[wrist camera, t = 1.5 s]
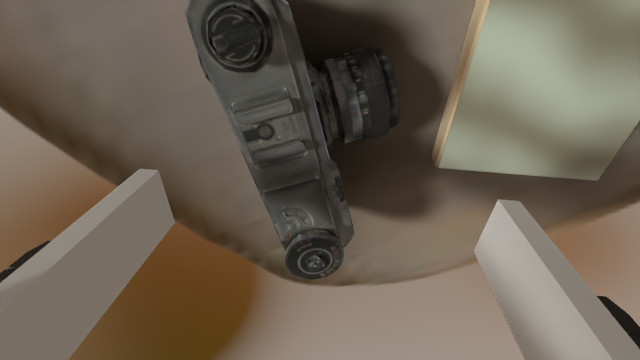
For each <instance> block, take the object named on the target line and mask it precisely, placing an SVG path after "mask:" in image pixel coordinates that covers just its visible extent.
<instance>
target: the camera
mask: <svg viewBox="0 0 640 360" xmlns="http://www.w3.org/2000/svg"><path fill="white" fill-rule="evenodd" d="M185 14H186V17H187V21H188V24H189V27H190V31H191V34H192V37H193V40H194V44H195V47H196V49H197V51H198V56H199V60H200V65H201V67H202V69H203V72H204V74H205V76H206V78H207V79H208V80H209V81H210V83H211V84H212V85H213V88H214V90H215V92H216V94H217V97H218V99H219V101H220V103H221V106H222V108H223V110H224V113H225V115H226V117H227V120H228V122H229V124H230V126H231V129H232V131H233V133H234V136H235V138H236V140H237V142H238V145H239V147H240V149H241V152H242V154H243V156H244V158H245V161H246V163H247V165H248V168H249V170H250V172H251V175H252V177H253V179H254V181H255V184H256V186H257V188H258V191H259V193H260V195H261V197H262V200H263V202H264V204H265V206H266V209H267V211H268V213H269V215H270V218H271V220H272V222H273V224H274V228H275V230H276V232H277V234H278V236H279V238H280V241H281V243H282V245H283V247H284V250H285V252H286V256H285V263H286V266H287V269H288V270H289V271H290V272H291V273H292V274H293V275H295V276H297V277H299V278H301V279H310V280H313V279H319V278H324V277H327V276H329V275H331V274H332V273H333V272H335V271H336V270H337V269H338V268H339V267H340V265H341V264H342V262H343V255H344V250H343V247H346V246H347V244H348V243H349V241H350V240H351V239H352V237H353V236H354V230H353V224H352V220H351V216H350V212H349V207H348V204H347V200H346V196H345V192H344V187H343V183H342V179H341V176H340V173H339V170H338V168H337V165H336V163H335V161H334V160H332V159H330V158H329V154H328V151H331V150H332V147H333V140H334V139H335V138H336V137H338V138H339V139H340V140H341V141H342V142H343V143H344V144H346V143H350V142H352V141H355V140H358V139H360V140H364V139H367V138H369V139H371V138H374V137H377V136H381V135H385V134H387V133H388V131H389V128H392V127H395V126H396V125H397V124H398V120H399V96H398V88H397V84H396V80H395V76H394V72H393V69H392V66H391V63H390V61H389V59H388V57H387V55H386V53H385V52H384V51H383V50H381V49H380V48H379V49H375V50H372V49H371V48H370V47H369V46H365V47H361V48H358V49H354V50H351V51H349V52H347V53H344V54H342V55H340V56H339V58H334V59H332V58H330V59H327V60H324V61H323V62H322V71H318V70H316V69H315V68H314V67H313V66H312V65H311V64H310V62H309V61H307V60H305V56H304V53H303V49H302V46H301V42H300V39H299V35H298V32H297V28H296V25H295V21H294V18H293V14H292V11H291V8H290V5H289V3H288V2H287V0H189V3H188V6H187V9H186V12H185Z"/></svg>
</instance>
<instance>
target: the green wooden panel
mask: <svg viewBox="0 0 640 360" xmlns="http://www.w3.org/2000/svg"><path fill="white" fill-rule="evenodd" d="M639 121H640V0H476V3H475V7H474V10H473V14H472V17H471V20H470V24H469V27H468V31H467V34H466V38H465V41H464V44H463V48H462V51H461V55H460V58H459V62H458V65H457V69H456V72H455V75H454V79H453V82H452V86H451V89H450V93H449V96H448V99H447V103H446V106H445V110H444V113H443V117H442V120H441V124H440V127H439V130H438V134H437V137H436V141H435V144H434V148H433V151H432V154H431V159H432V161H433V163H434V165H435V166H436V167H438V168H445V169H457V170H470V171H482V172H495V173H507V174H520V175H532V176H545V177H557V178H570V179H582V180H595V181H598V179H599V178H600V177H601V175H602V174H603V172H604V171H605V169H606V168H607V167H608V165H609V164H610V162H611V161H612V160H613V158H614V157H615V155H616V154H617V152H618V151H619V150H620V148H621V147H622V145H623V144H624V142H625V141H626V140H627V138H628V137H629V135H630V134H631V132H632V131H633V130H634V128H635V127H636V125H637V124H638V122H639Z"/></svg>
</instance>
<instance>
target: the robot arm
mask: <svg viewBox="0 0 640 360" xmlns="http://www.w3.org/2000/svg"><path fill="white" fill-rule="evenodd" d="M174 223H175V222H174V219H173V215H172V212H171V209H170V206H169V203H168V199H167V196H166V193H165V190H164V187H163V184H162V180H161V177H160V174H159V171H158V170H148V169H139V170H138V171H137V172H135V173H134V174H133V175H132V176H130V177H129V178H128V179H127V180H126V181H124V182H123V183H122V184H121V185H119V186H118V187H117V188H116V189H115V190H113V191H112V192H111V193H110V194H108V195H107V196H106V197H105V198H104V199H102V200H101V201H100V202H99V203H98V204H96V205H95V206H94V207H93V208H92V209H90V210H89V211H88V212H86V213H85V214H84V215H83V216H82V217H80V218H79V219H78V220H77V221H76V222H74V223H73V224H72V225H71V226H69V227H68V228H67V229H66V230H65V231H63V232H62V233H61V234H60V235H58V236H57V237H56V238H55V239H54V240H52V241H47V242H45V243H43V244H41V245H40V246H38V247H36V248H34V249H32V250H30V251H28V252H27V253H25V254H24V255H23V256H22V257H21V258H19V259H18V260H17V261H15V262H14V263H13V264H12V265H10V266H9V269H8V270H4V271H3V272H1V273H0V360H68V359H69V357H70V356H71V355H72V354H73V352H74V351H75V350H76V349H77V347H78V346H79V345H80V344H81V342H82V341H83V340H84V338H85V337H86V336H87V335H88V333H89V332H90V331H91V329H92V328H93V327H94V326H95V324H96V323H97V322H98V320H99V319H100V318H101V317H102V315H103V314H104V313H105V312H106V310H107V309H108V308H109V306H110V305H111V304H112V302H113V301H114V300H115V299H116V297H117V296H118V295H119V294H120V292H121V291H122V290H123V289H124V287H125V286H126V285H127V283H128V282H129V281H130V279H131V278H132V277H133V276H134V274H135V273H136V272H137V271H138V269H139V268H140V266H141V265H142V264H143V263H144V262H145V260H146V259H147V258H148V256H149V255H150V254H151V253H152V251H153V250H154V249H155V247H156V246H157V245H158V244H159V242H160V241H161V240H162V238H163V237H164V236H165V235H166V233H167V232H168V231H169V229H170V228H171V227H172V226H173V224H174ZM474 253H475V256H476V258H477V260H478V262H479V264H480V266H481V268H482V270H483V272H484V274H485V277H486V279H487V281H488V283H489V285H490V287H491V289H492V291H493V293H494V296H495V298H496V300H497V302H498V304H499V306H500V308H501V310H502V312H503V315H504V317H505V319H506V321H507V323H508V325H509V327H510V329H511V331H512V333H513V335H514V338H515V340H516V342H517V344H518V346H519V348H520V350H521V353H522V354H523V357H524V359H525V360H640V327H639V326H638V325H637V324H636V323H635V321H634V320H633V319H632V318H631V317H630V315H628V314H627V313H626V312H625V311H624V310H622V309H621V308H620V307H619V306H617V305H616V304H615V303H613V302H612V301H611V300H610V299H608V298H607V297H604V296H596V295H595V293H594V292H593V291H592V290H591V289H590V287H589V286H588V285H587V284H586V282H585V281H584V280H583V279H582V278H581V276H580V275H579V274H578V273H577V271H576V270H575V269H574V268H573V267H572V265H571V264H570V263H569V261H568V260H567V259H566V258H565V257H564V255H563V254H562V253H561V252H560V250H559V249H558V248H557V247H556V245H555V244H554V243H553V242H552V241H551V239H550V238H549V237H548V236H547V234H546V233H545V232H544V231H543V229H542V228H541V227H540V226H539V225H538V223H537V222H536V221H535V220H534V218H533V217H532V216H531V215H530V213H529V212H528V211H527V210H526V209H525V207H524V206H523V205H522V204H521V202H520V201H512V200H500V199H498V201H497V203H496V205H495V207H494V209H493V211H492V213H491V215H490V218H489V220H488V222H487V224H486V226H485V228H484V230H483V232H482V234H481V237H480V239H479V241H478V243H477V245H476V247H475V249H474Z"/></svg>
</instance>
